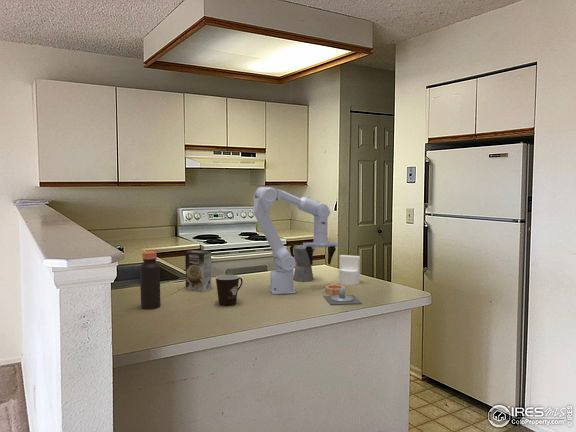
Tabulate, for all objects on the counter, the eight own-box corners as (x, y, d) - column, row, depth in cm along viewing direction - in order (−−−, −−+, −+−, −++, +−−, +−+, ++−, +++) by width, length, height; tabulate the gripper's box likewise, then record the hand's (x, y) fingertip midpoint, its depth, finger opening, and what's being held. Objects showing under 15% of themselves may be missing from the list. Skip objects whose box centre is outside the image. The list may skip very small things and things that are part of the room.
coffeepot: (321, 280, 208) (321, 241, 206) (306, 283, 202) (307, 243, 200) (296, 275, 219) (297, 237, 217) (282, 278, 213) (282, 239, 211)
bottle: (138, 306, 166) (136, 251, 164) (156, 303, 170) (155, 250, 169) (144, 310, 161) (143, 254, 159) (163, 307, 165) (162, 252, 163)
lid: (334, 302, 170) (334, 291, 170) (328, 296, 179) (328, 286, 178) (355, 301, 172) (356, 291, 171) (349, 296, 180) (349, 285, 180)
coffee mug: (220, 308, 164) (220, 280, 164) (212, 302, 172) (212, 276, 171) (250, 304, 170) (250, 277, 169) (241, 298, 177) (241, 273, 176)
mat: (330, 305, 168) (330, 304, 168) (323, 296, 180) (323, 295, 180) (362, 304, 170) (362, 303, 170) (352, 295, 182) (352, 294, 182)
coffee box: (184, 289, 190) (184, 251, 189) (193, 286, 196) (193, 249, 195) (203, 292, 187) (203, 253, 186) (212, 288, 193) (211, 250, 191)
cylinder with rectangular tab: (336, 283, 202) (337, 257, 201) (342, 279, 210) (342, 253, 209) (356, 285, 199) (357, 258, 198) (361, 281, 207) (362, 255, 206)
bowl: (328, 295, 182) (328, 289, 182) (323, 291, 189) (323, 285, 189) (346, 295, 183) (346, 288, 183) (341, 290, 190) (341, 284, 190)
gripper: (305, 233, 187) (304, 266, 188) (339, 233, 189) (339, 265, 190) (302, 231, 194) (302, 263, 195) (335, 231, 196) (335, 262, 197)
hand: (320, 264), depth 193 cm, fingers open, 7 cm apart
